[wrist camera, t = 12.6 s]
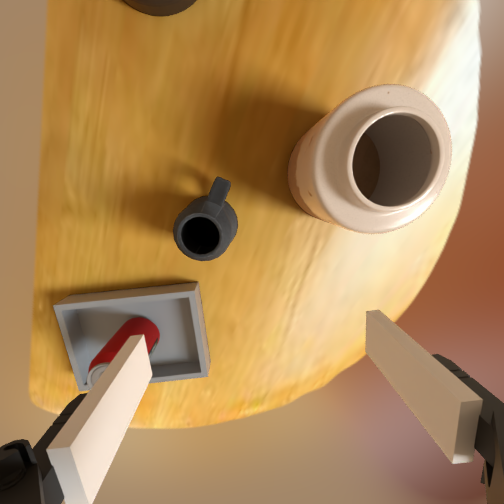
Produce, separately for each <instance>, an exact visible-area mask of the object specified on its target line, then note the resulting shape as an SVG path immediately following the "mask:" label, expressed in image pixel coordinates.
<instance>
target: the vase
mask: <svg viewBox="0 0 504 504" xmlns="http://www.w3.org/2000/svg"><path fill="white" fill-rule="evenodd" d="M451 157H452V142H451V136H450V131H449V128H448V125H447V122H446V120H445V118H444V116H443V114H442V112H441V111H440V109H439V108H438V107H437V105H436V104H435V103H434V102H433V101H432V100H431V99H430V98H429V97H427V96H426V95H425V94H423V93H421V92H420V91H418V90H416V89H413V88H411V87H407V86H404V85H397V84H384V85H377V86H372V87H369V88H366V89H363V90H361V91H359V92H357V93H355V94H353V95H351V96H350V97H348V98H347V99H345V100H344V101H342V102H341V103H340V104H339V105H337V106H336V107H335V108H334V109H333V110H331V111H330V112H329V113H328V114H327V115H326V116H324V117H323V118H322V119H321V120H320V121H319V122H317V123H316V124H315V125H314V126H313V127H312V128H310V129H309V130H308V131H307V132H306V133H305V134H304V135H303V136H302V137H301V138H300V140H299V141H298V142H297V144H296V146H295V147H294V149H293V151H292V154H291V156H290V160H289V164H288V184H289V188H290V191H291V194H292V196H293V198H294V199H295V201H296V202H297V204H298V205H299V206H300V207H301V208H302V209H303V210H304V211H305V212H307V213H308V214H310V215H311V216H313V217H315V218H318V219H320V220H323V221H326V222H328V223H331V224H334V225H337V226H339V227H342V228H345V229H347V230H351V231H354V232H358V233H364V234H381V233H387V232H391V231H394V230H397V229H400V228H402V227H404V226H406V225H408V224H410V223H412V222H413V221H415V220H416V219H417V218H419V217H420V216H421V215H422V214H423V213H424V212H426V211H427V210H428V208H429V207H430V206H431V205H432V204H433V203H434V201H435V200H436V198H437V197H438V195H439V194H440V192H441V190H442V188H443V186H444V184H445V182H446V179H447V176H448V173H449V169H450V165H451Z"/></svg>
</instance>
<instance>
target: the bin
mask: <svg viewBox="0 0 504 504" xmlns="http://www.w3.org/2000/svg"><path fill="white" fill-rule="evenodd" d="M53 307H54V310H55V314H56V317H57V320H58V323H59V327H60V330H61V333H62V336H63V340H64V343H65V346H66V350H67V353H68V356H69V359H70V363H71V366H72V369H73V372H74V376H75V379H76V382H77V385H78V389H79V391H86V390H90V389H89V387H88V385H87V376H88V370H89V365H90V363H91V361H92V360H93V359H94V358H95V356H96V355H97V354H98V353H99V352H100V350H101V349H102V348H103V347H104V346H105V345H106V343H107V342H108V341H109V340H110V339H111V338H112V337H113V335H114V334H115V333H116V332H117V331H118V330H119V329H120V328H121V326H122V325H123V324H124V323H125V322H126V321H128V320H130V319H132V318H137V317H141V318H146V319H148V320H150V321H152V322H153V323H154V324H155V325H156V326H157V328H158V329H159V333H160V339H159V342H158V344H157V346H156V348H155V350H154V352H153V354H152V356H151V358H150V360H149V361H150V365H151V370H152V377H151V379H150V381H149V383H157V382H165V381H174V380H183V379H192V378H201V377H208V374H209V368H210V362H211V361H210V355H209V348H208V342H207V335H206V328H205V322H204V315H203V309H202V302H201V295H200V289H199V282H192V283H182V284H172V285H163V286H153V287H143V288H134V289H124V290H114V291H105V292H95V293H85V294H76V295H69V296H67V297H66V298H64V299H63V300H61V301H59V302H58V303H56V304H55V305H53Z"/></svg>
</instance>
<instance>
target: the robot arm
mask: <svg viewBox="0 0 504 504" xmlns="http://www.w3.org/2000/svg"><path fill="white" fill-rule="evenodd" d="M123 1H125V2H126V3H127V4H128V5H130V6H131V7H133V8H135V9H136V10H138V11H141V12H143V13H146V14H149V15H155V16H169V15H173V14H177V13H179V12H182V11H183V10H185V9H187V8H188V7H190V6H191V5H192V4H193V3H194V2H195V1H196V0H123ZM365 352H366V353H367V354H368V356H369V357H370V358H371V359H372V361H373V362H374V363H375V365H376V366H377V367H378V369H379V370H380V371H381V372H382V373H383V375H384V376H385V378H386V379H387V380H388V381H389V383H390V384H391V385H392V387H393V388H394V389H395V390H396V392H397V393H398V394H399V396H400V397H401V398H402V400H403V401H404V402H405V403H406V405H407V406H408V407H409V409H410V410H411V411H412V412H413V414H414V415H415V416H416V418H417V419H418V420H419V421H420V423H421V424H422V425H423V427H424V428H425V429H426V430H427V432H428V433H429V434H430V436H431V437H432V438H433V440H434V441H435V442H436V443H437V445H438V446H439V447H440V449H441V450H442V451H443V452H444V454H445V455H446V456H447V458H448V459H449V460H450V461H451V463H452V464H456V463H465V462H472V461H473V457H474V451H475V449H476V450H477V451H478V452H479V453H480V454H481V455H482V456H483V458H484V459H485V461H484V466H483V472H482V478H481V483H483V484H485V487H486V499H487V504H504V403H503V402H501V401H500V400H499V399H498V398H497V397H495V396H494V395H493V394H492V393H490V392H489V391H488V390H487V389H485V388H484V387H483V386H482V385H480V384H479V383H478V382H477V381H476V380H474V379H473V378H470V376H469V375H468V374H467V373H466V372H464V371H462V370H461V368H459V367H458V366H457V365H456V364H455V363H453V362H452V361H451V360H449V359H447V358H445V357H443V356H441V355H439V354H435V355H431V354H429V353H428V352H427V351H426V350H425V349H424V348H423V347H421V346H420V345H419V344H418V343H417V342H416V341H414V340H413V339H412V338H411V337H410V336H409V335H407V334H406V333H405V332H404V331H403V330H402V329H401V328H399V327H398V326H397V325H396V324H395V323H394V322H392V321H391V320H390V319H389V318H388V317H387V316H386V315H384V314H383V313H382V312H381V311H380V310H373V311H366V348H365ZM151 377H152V370H151V365H150V361H149V356H148V352H147V347H146V342H145V338H144V334H143V335H134V336H130V337H129V339H128V340H127V341H126V343H125V344H124V345H123V347H122V348H121V349H120V351H119V352H118V353H117V355H116V356H115V357H114V359H113V360H112V361H111V363H110V364H109V366H108V367H107V368H106V370H105V371H104V372H103V374H102V375H101V376H100V378H99V379H98V380H97V382H96V383H95V384H94V386H93V387H92V388H91V390H90V391H89V392H88V393H85V394H80V395H78V396H77V397H76V398H75V399H74V400H72V401H71V402H70V403H69V404H68V405H67V406H66V407H65V409H64V410H63V411H62V412H61V414H60V416H59V417H58V418H57V419H56V420H55V421H54V422H53V425H52V426H50V428H49V429H48V430H47V431H46V433H45V434H44V435H43V436H42V438H41V439H40V440H39V441H38V443H37V444H36V445H35V446H34V448H33V449H32V448H31V445H30V443H29V441H28V440H24V439H21V440H16V441H12V442H10V443H8V444H5V445H3V446H2V447H0V504H61V503H62V501H63V499H64V500H65V503H66V504H92V503H93V501H94V499H95V497H96V495H97V492H98V490H99V488H100V486H101V484H102V482H103V480H104V477H105V475H106V473H107V471H108V469H109V466H110V464H111V462H112V460H113V458H114V456H115V454H116V452H117V450H118V447H119V445H120V443H121V441H122V439H123V437H124V435H125V433H126V430H127V428H128V426H129V424H130V422H131V420H132V418H133V415H134V413H135V411H136V409H137V407H138V405H139V403H140V400H141V398H142V396H143V394H144V392H145V390H146V388H147V385H148V383H149V381H150V379H151Z"/></svg>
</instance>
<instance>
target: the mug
mask: <svg viewBox="0 0 504 504" xmlns="http://www.w3.org/2000/svg"><path fill="white" fill-rule="evenodd" d="M230 186H231V182H230V181H228V180H225V179H223V178H221V177H218V176H217V177H216V179H215V181H214V183H213V185H212V187H211V190H210V192H209V195H208V196H202V197H200V198H198V199H195V200H194V201H193V202H191V203H190V204H189V205H188V206H187V208H185V209H184V210H183V211H182V212H181V213H180V214H179V215H178V217H177V219H176V220H175V223H174V228H173V234H174V240H175V242H176V244H177V246H178V248H179V249H180V250H181V251H182V252H183V254H184V255H186V256H188V257H190V258H191V259H194V260H199V261H209V260H212V259H215V258H217V257H219V256H220V255H221V254H223V253H224V252H225V251H226V249H227V247H228V246H229V244H230V243H231V242H232V240H233V239H234V237H235V235H236V232H237V228H238V221H237V216H236V214H235V211H234V209H233V208H232V207H231V206H230V204H229V203H228V202H226V201H225V199H226V196H227V193H228V191H229V189H230Z"/></svg>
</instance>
